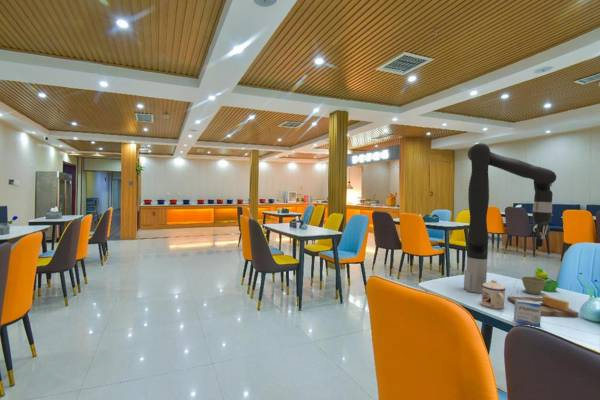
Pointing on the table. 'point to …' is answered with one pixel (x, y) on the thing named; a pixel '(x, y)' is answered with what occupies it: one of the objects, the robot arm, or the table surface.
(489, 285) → the teacup with lid
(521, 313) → the medicine box
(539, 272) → the fruit basket
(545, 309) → the sundial board
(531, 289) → the bowl
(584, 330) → the table surface
